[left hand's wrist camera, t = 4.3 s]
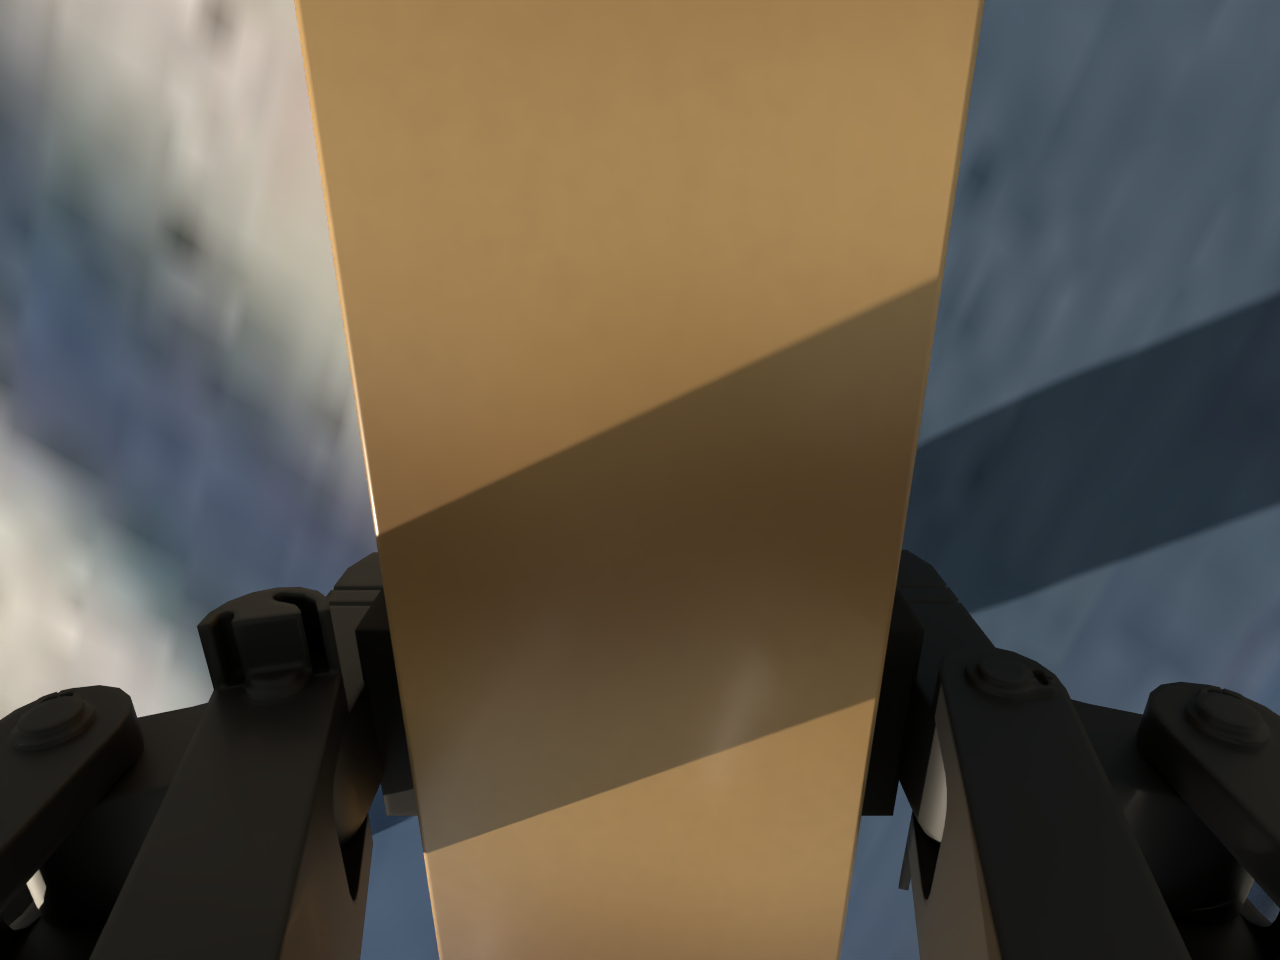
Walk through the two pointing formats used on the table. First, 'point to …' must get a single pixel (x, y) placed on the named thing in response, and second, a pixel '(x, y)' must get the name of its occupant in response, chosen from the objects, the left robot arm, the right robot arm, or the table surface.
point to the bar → (639, 437)
